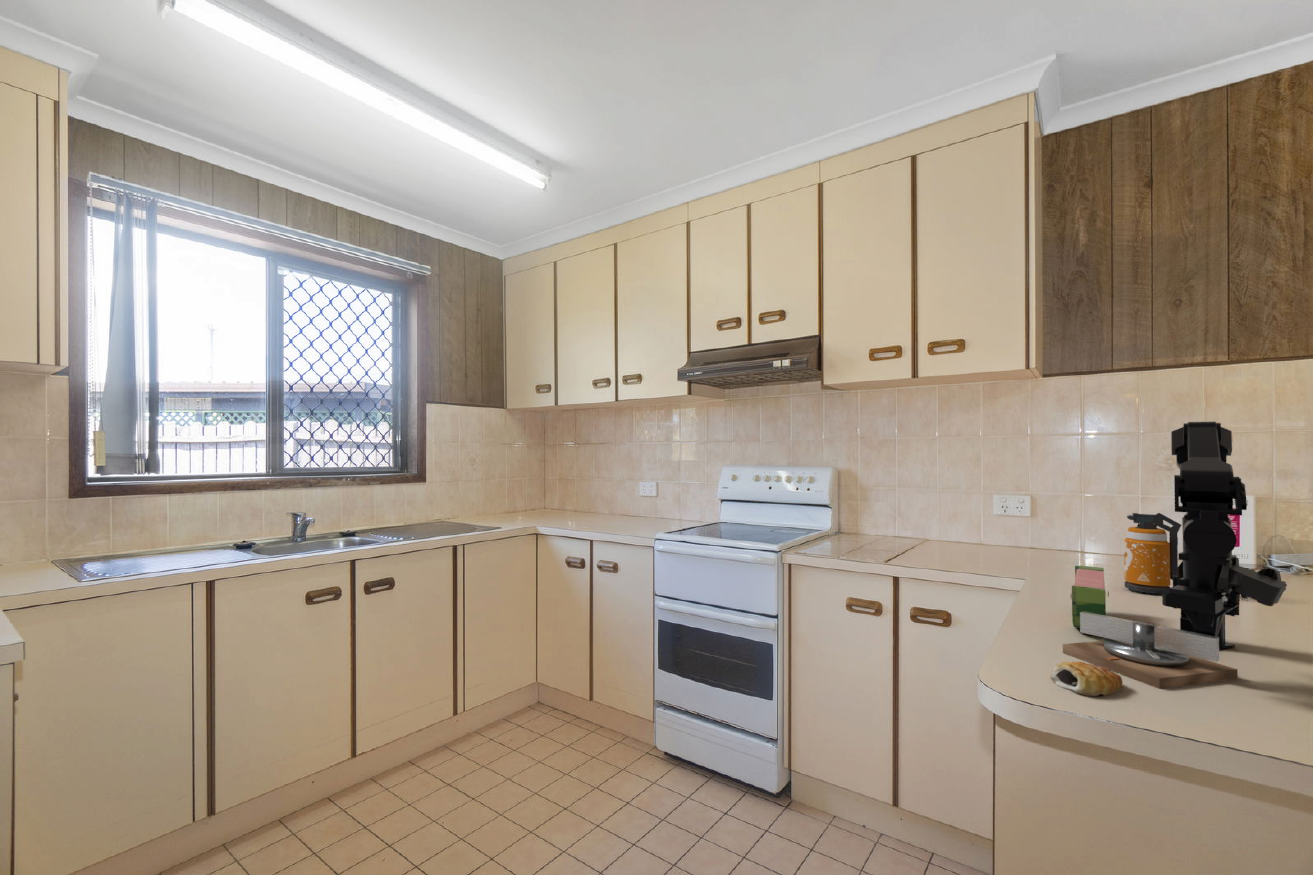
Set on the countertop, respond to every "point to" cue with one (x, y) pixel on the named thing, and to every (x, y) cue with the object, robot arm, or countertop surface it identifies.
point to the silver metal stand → (1149, 640)
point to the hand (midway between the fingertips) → (1209, 646)
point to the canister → (1150, 554)
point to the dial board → (1152, 667)
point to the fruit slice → (1088, 592)
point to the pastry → (1086, 678)
